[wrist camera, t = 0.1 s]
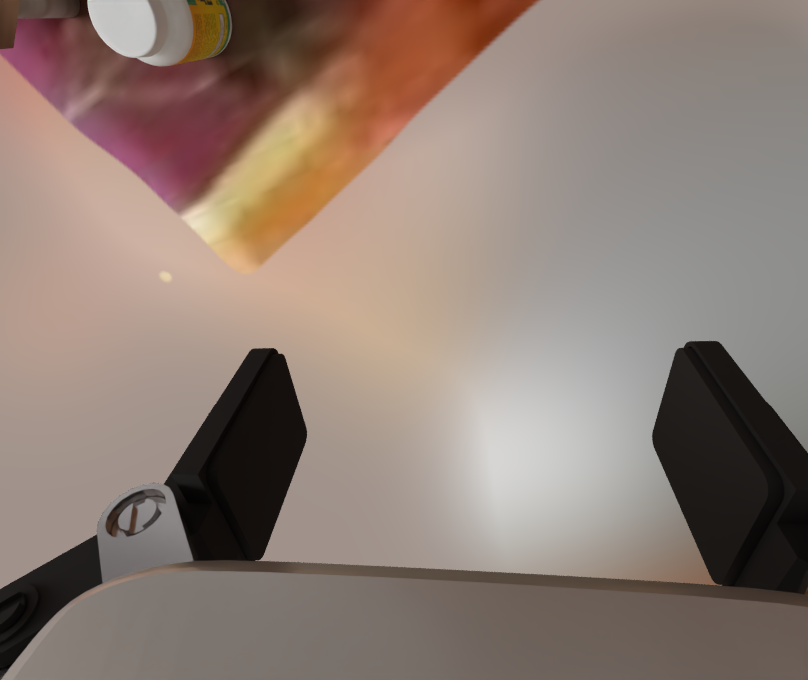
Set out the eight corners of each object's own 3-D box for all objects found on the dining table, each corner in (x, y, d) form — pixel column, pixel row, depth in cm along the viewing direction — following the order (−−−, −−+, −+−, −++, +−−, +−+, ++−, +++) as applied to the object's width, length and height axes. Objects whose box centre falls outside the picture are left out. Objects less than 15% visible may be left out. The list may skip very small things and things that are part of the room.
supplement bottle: (156, 32, 35) (67, 36, 27) (172, -48, 32) (78, -68, 24) (223, 73, 36) (156, 89, 29) (244, -1, 33) (176, -5, 26)
